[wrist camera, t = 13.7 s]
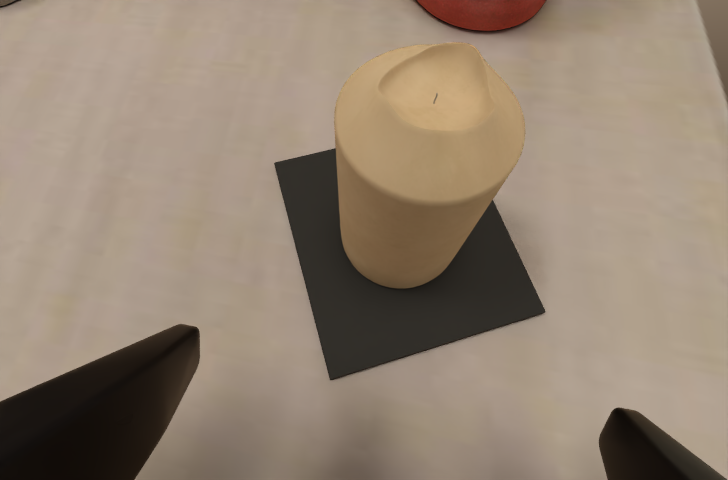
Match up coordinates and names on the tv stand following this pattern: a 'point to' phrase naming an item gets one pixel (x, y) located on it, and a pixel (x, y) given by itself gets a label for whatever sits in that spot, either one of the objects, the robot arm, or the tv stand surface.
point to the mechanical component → (5, 2)
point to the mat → (396, 305)
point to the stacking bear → (483, 12)
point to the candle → (420, 157)
